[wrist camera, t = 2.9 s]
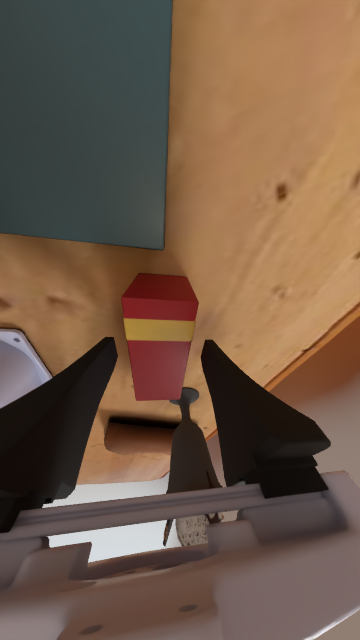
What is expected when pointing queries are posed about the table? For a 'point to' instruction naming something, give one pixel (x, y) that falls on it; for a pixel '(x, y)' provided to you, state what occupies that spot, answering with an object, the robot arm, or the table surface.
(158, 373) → the candy bar
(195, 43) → the table surface
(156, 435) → the sunglasses case
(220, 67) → the table surface
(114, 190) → the shelf rack
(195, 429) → the sundae
